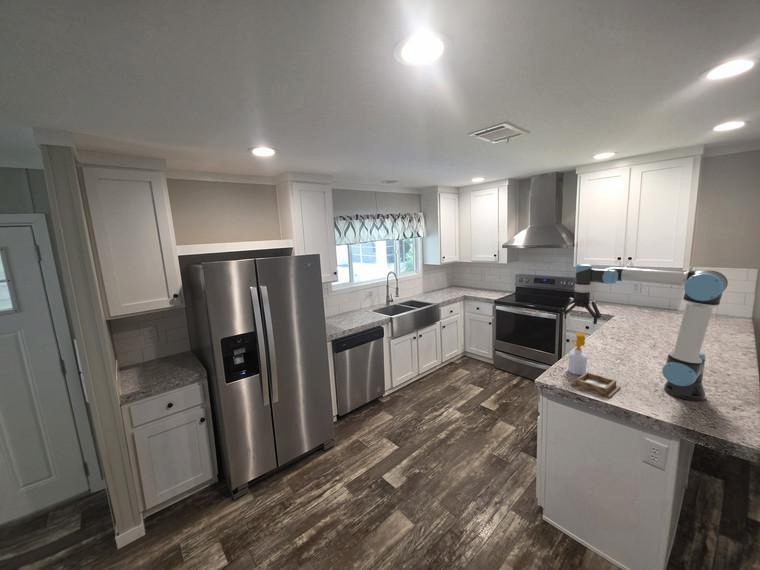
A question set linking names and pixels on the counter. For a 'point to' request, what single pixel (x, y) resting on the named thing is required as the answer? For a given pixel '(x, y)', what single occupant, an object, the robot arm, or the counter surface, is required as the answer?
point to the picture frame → (597, 384)
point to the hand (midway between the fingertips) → (579, 326)
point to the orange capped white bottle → (578, 357)
